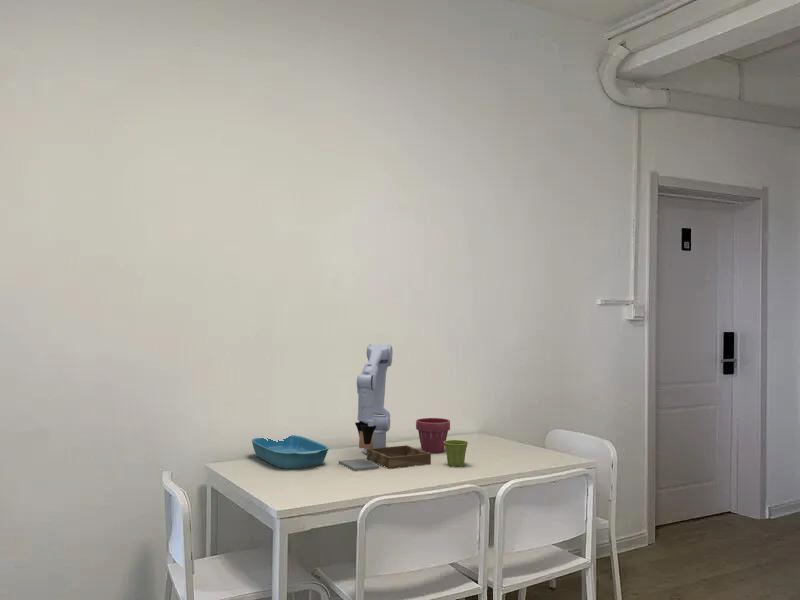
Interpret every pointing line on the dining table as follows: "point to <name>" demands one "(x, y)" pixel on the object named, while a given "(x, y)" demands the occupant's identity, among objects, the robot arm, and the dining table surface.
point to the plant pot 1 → (432, 433)
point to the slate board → (358, 464)
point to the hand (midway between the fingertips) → (365, 442)
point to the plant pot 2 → (455, 452)
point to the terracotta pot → (361, 442)
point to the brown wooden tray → (398, 456)
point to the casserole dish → (290, 452)
